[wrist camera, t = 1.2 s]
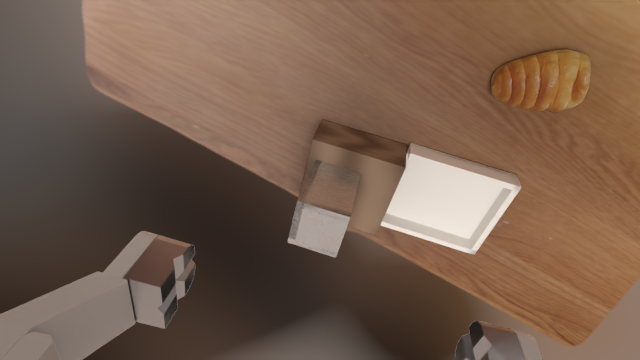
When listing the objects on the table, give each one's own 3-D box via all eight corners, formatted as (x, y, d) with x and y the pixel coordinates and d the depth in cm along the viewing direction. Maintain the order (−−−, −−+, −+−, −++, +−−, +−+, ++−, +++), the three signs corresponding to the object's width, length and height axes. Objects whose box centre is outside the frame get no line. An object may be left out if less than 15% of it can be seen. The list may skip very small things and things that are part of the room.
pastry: (485, 107, 44) (491, 120, 41) (493, 50, 41) (500, 59, 37) (572, 104, 42) (585, 117, 39) (588, 44, 38) (604, 53, 35)
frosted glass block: (360, 173, 46) (350, 217, 39) (347, 210, 50) (335, 257, 42) (315, 159, 46) (297, 200, 39) (306, 197, 50) (287, 242, 43)
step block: (406, 144, 49) (405, 167, 44) (379, 209, 56) (375, 235, 51) (322, 119, 49) (312, 139, 45) (305, 186, 56) (295, 209, 52)
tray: (516, 174, 48) (521, 187, 45) (471, 240, 55) (474, 254, 53) (410, 142, 49) (410, 153, 46) (380, 212, 56) (379, 224, 54)
